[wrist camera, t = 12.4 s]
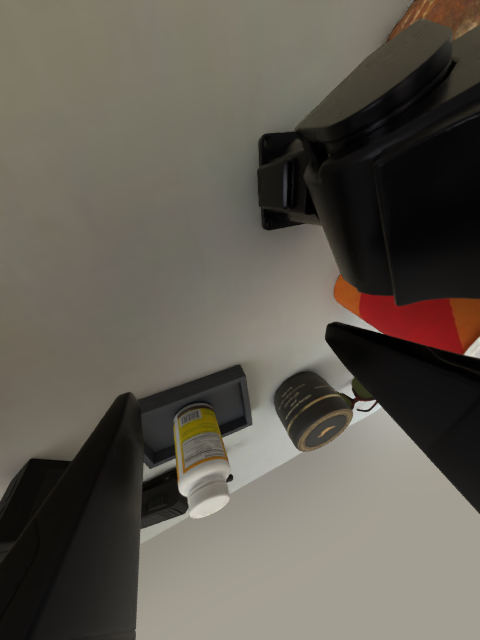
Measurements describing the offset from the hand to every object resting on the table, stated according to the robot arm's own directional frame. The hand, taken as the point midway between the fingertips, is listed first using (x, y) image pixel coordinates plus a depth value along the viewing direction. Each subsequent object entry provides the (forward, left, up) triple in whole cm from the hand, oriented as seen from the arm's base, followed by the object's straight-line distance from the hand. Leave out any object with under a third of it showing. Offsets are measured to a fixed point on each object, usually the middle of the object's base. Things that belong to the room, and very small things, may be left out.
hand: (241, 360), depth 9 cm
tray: (+5, +19, -12) cm, 23 cm away
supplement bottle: (+5, +19, -12) cm, 23 cm away
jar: (-12, +24, -12) cm, 29 cm away
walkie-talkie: (+13, +33, -12) cm, 38 cm away
